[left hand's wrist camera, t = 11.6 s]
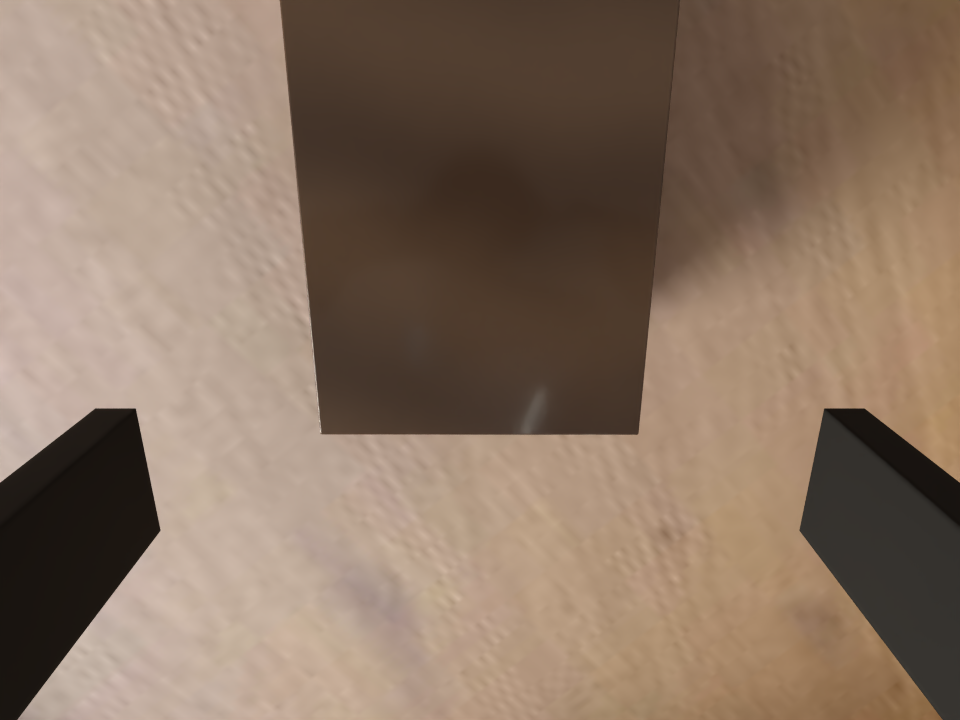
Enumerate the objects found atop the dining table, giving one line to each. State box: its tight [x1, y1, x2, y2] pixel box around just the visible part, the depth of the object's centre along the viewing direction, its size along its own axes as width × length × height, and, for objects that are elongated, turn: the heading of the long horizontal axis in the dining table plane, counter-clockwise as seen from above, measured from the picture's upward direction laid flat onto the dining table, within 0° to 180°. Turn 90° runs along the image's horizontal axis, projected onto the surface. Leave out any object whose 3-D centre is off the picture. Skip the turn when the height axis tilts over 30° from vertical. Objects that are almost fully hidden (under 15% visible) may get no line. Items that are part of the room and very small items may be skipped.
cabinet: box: [280, 0, 680, 435], centre depth 23 cm, size 17×10×10 cm, turn 0°
